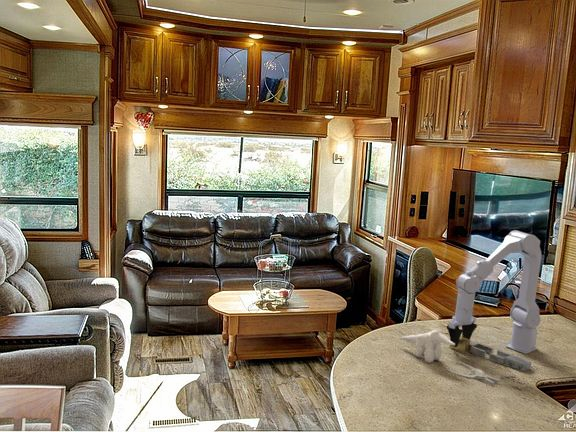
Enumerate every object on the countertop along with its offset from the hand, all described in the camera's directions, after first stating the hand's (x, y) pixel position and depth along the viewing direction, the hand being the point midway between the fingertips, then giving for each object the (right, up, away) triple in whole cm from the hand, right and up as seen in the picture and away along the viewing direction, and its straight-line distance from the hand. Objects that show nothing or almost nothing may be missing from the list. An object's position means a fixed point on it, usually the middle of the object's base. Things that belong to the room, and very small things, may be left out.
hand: (459, 344), depth 187 cm
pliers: (-3, -5, -21) cm, 22 cm away
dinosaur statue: (-16, -2, -9) cm, 18 cm away
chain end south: (+5, -2, +1) cm, 5 cm away
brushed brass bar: (0, -2, 0) cm, 2 cm away
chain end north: (+14, -4, -10) cm, 18 cm away
